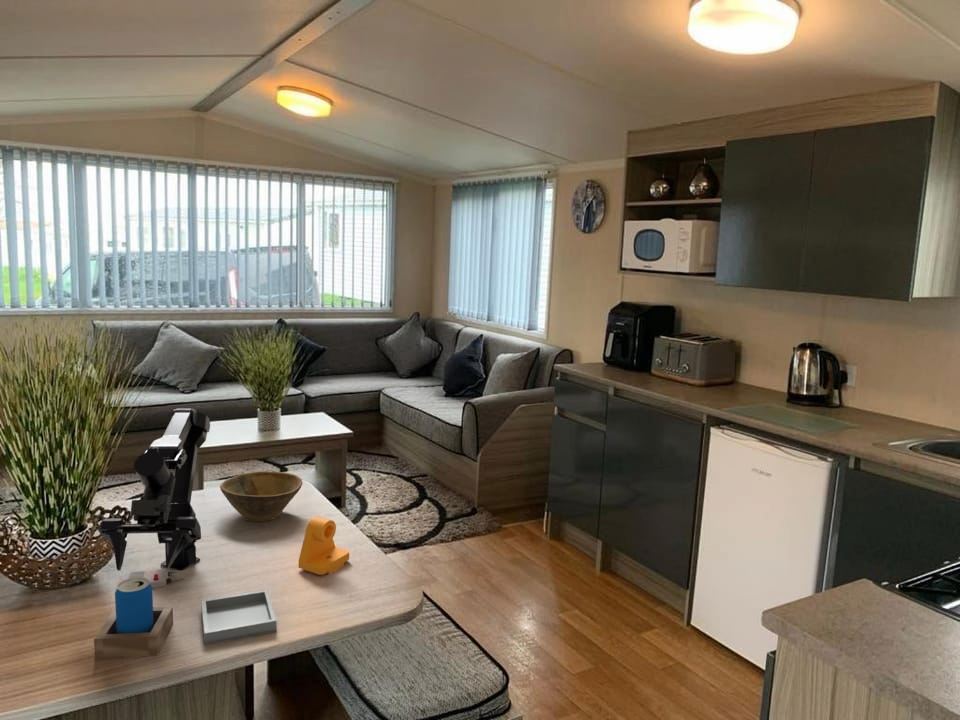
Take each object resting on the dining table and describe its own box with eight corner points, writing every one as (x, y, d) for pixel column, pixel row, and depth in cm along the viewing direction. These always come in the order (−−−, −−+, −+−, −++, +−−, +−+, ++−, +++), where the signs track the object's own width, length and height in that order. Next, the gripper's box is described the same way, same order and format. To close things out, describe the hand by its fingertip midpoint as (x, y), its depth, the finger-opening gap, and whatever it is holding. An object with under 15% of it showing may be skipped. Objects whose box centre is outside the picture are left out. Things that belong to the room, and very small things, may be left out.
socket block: (116, 627, 140) (115, 608, 139) (173, 624, 142) (172, 606, 141) (94, 658, 129) (93, 639, 129) (157, 655, 131) (156, 636, 130)
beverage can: (161, 639, 137) (158, 582, 135) (129, 654, 131) (126, 595, 129) (141, 628, 140) (139, 573, 138) (110, 643, 135) (107, 585, 133)
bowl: (278, 495, 215) (278, 465, 213) (315, 518, 199) (315, 485, 197) (208, 511, 200) (207, 478, 199) (242, 538, 184) (241, 502, 182)
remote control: (111, 580, 159) (111, 568, 159) (185, 572, 165) (184, 560, 164) (106, 594, 153) (106, 581, 153) (183, 585, 159) (183, 573, 158)
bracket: (321, 578, 164) (321, 530, 162) (298, 570, 167) (298, 523, 165) (350, 561, 173) (351, 516, 171) (328, 554, 176) (328, 509, 174)
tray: (204, 645, 135) (204, 633, 135) (201, 611, 147) (201, 600, 147) (276, 631, 141) (276, 620, 140) (267, 600, 153) (267, 589, 152)
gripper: (99, 481, 140) (79, 556, 131) (195, 480, 143) (183, 553, 134) (115, 504, 149) (97, 575, 140) (205, 502, 152) (194, 572, 143)
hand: (142, 569), depth 139 cm, fingers open, 9 cm apart
